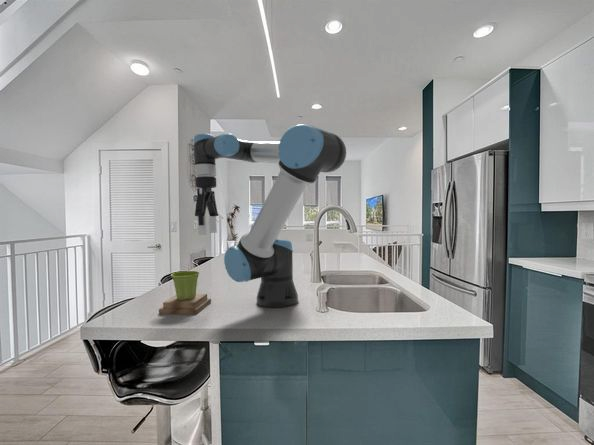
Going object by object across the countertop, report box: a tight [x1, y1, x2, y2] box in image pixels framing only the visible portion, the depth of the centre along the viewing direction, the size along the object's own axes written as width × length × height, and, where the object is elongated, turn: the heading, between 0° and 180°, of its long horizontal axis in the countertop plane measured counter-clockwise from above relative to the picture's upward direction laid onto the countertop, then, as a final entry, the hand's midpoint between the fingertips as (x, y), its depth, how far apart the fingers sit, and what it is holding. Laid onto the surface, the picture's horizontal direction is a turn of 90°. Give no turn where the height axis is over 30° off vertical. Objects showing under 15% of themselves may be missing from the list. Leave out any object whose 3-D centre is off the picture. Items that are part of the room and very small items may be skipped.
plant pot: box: [170, 270, 200, 300], centre depth 110 cm, size 9×9×9 cm
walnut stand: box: [158, 293, 212, 315], centre depth 111 cm, size 13×13×4 cm
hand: (208, 233), depth 119 cm, fingers open, 13 cm apart
